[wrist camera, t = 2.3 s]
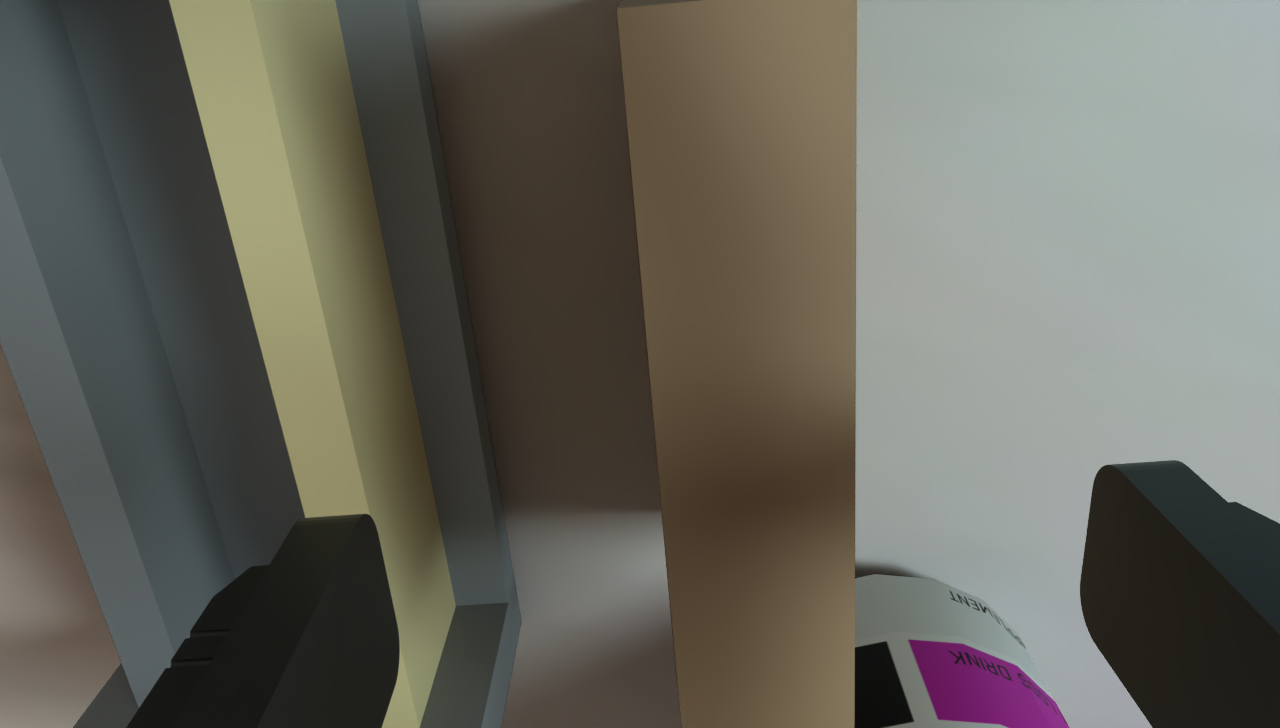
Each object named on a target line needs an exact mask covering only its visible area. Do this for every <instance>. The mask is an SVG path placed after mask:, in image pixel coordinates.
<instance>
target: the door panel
mask: <svg viewBox="0 0 1280 728" xmlns="http://www.w3.org/2000/svg"><path fill="white" fill-rule="evenodd" d="M617 17H618V28H619V39H620V50H621V61H622V73H623V84H624V95H625V106H626V117H627V136H628V147H629V158H630V169H631V180H632V191H633V202H634V213H635V224H636V235H637V246H638V258H639V269H640V280H641V291H642V302H643V313H644V324H645V335H646V346H647V357H648V368H649V379H650V390H651V401H652V412H653V423H654V434H655V445H656V456H657V467H658V478H659V489H660V500H661V511H662V523H663V534H664V545H665V556H666V567H667V578H668V589H669V600H670V611H671V622H672V633H673V644H674V655H675V666H676V677H677V686H678V693H679V704H680V715H681V726H682V728H854V723H855V392H856V61H857V0H622V1H621V3H620V4H619V6H618V7H617Z"/></svg>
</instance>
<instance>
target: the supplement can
mask: <svg viewBox="0 0 1280 728" xmlns="http://www.w3.org/2000/svg"><path fill="white" fill-rule="evenodd" d="M854 728H1069V726H1068V724H1067V722H1066V721H1065V719H1064V717H1063V715H1062V713H1061V712H1060V710H1059V708H1058V706H1057V704H1056V702H1055V701H1054V699H1053V697H1052V695H1051V693H1050V692H1049V690H1048V688H1047V686H1046V684H1045V682H1044V681H1043V679H1042V677H1041V675H1040V673H1039V672H1038V670H1037V668H1036V666H1035V664H1034V663H1033V661H1032V659H1031V657H1030V655H1029V653H1028V652H1027V650H1026V648H1025V646H1024V644H1023V643H1022V641H1021V639H1020V637H1019V635H1018V633H1017V632H1016V631H1015V630H1014V629H1013V628H1011V627H1010V626H1009V625H1008V624H1007V623H1006V622H1005V621H1004V620H1003V619H1002V618H1001V617H1000V616H999V615H998V614H997V613H996V612H995V611H994V610H993V609H992V608H991V607H990V606H989V605H988V604H987V603H986V602H985V601H984V600H982V599H980V598H978V597H975V596H973V595H970V594H968V593H966V592H963V591H961V590H958V589H956V588H954V587H951V586H949V585H946V584H944V583H942V582H939V581H937V580H934V579H928V578H916V577H903V576H891V575H878V574H873V575H869V576H864V577H859V578H855V723H854Z"/></svg>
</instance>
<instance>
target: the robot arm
mask: <svg viewBox="0 0 1280 728" xmlns="http://www.w3.org/2000/svg"><path fill="white" fill-rule="evenodd" d="M1080 597H1081V606H1082V611H1083V616H1084V619H1085V623H1086V626H1087V628H1088V631H1089V633H1090V635H1091V637H1092V639H1093V641H1094V643H1095V644H1096V646H1097V647H1098V649H1099V650H1100V652H1101V653H1102V654H1103V656H1104V657H1105V659H1106V660H1107V662H1108V663H1109V665H1110V666H1111V667H1112V669H1113V670H1114V672H1115V673H1116V675H1117V676H1118V678H1119V679H1120V681H1121V682H1122V683H1123V685H1124V686H1125V688H1126V689H1127V691H1128V692H1129V694H1130V695H1131V697H1132V698H1133V699H1134V701H1135V702H1136V704H1137V705H1138V707H1139V708H1140V710H1141V711H1142V713H1143V714H1144V715H1145V717H1146V718H1147V720H1148V721H1149V723H1150V724H1151V726H1152V727H1153V728H1280V524H1279V523H1277V522H1275V521H1273V520H1271V519H1269V518H1267V517H1265V516H1263V515H1261V514H1259V513H1257V512H1255V511H1253V510H1251V509H1249V508H1247V507H1245V506H1243V505H1241V504H1239V503H1237V502H1230V503H1228V502H1227V501H1226V500H1225V499H1223V498H1222V497H1221V496H1220V495H1219V494H1218V493H1217V492H1216V491H1215V490H1213V489H1212V488H1211V487H1210V486H1209V485H1208V484H1207V483H1206V482H1204V481H1203V480H1202V479H1201V478H1200V477H1199V476H1198V475H1197V474H1195V473H1194V472H1193V471H1192V470H1191V469H1190V468H1189V467H1188V466H1186V465H1185V464H1184V463H1182V462H1179V461H1174V460H1172V461H1157V462H1143V463H1128V464H1113V465H1105V466H1103V467H1102V468H1101V469H1100V470H1099V471H1098V473H1097V475H1096V477H1095V480H1094V484H1093V490H1092V497H1091V505H1090V513H1089V520H1088V528H1087V536H1086V543H1085V551H1084V559H1083V566H1082V574H1081V582H1080ZM399 656H400V643H399V631H398V625H397V620H396V615H395V611H394V606H393V601H392V596H391V592H390V587H389V582H388V577H387V573H386V568H385V563H384V559H383V554H382V549H381V544H380V540H379V535H378V531H377V528H376V525H375V522H374V520H373V519H372V517H371V516H370V515H369V514H354V515H339V516H324V517H310V518H301V519H299V520H297V521H296V522H295V524H294V525H293V527H292V528H291V530H290V532H289V533H288V535H287V537H286V538H285V540H284V542H283V543H282V545H281V547H280V548H279V550H278V552H277V553H276V555H275V557H274V558H273V560H272V562H271V563H270V565H264V566H251V567H250V568H248V569H247V570H246V571H245V572H243V573H242V574H241V575H240V576H238V577H237V578H236V579H235V580H233V581H232V582H231V583H230V584H228V585H227V586H226V587H225V588H223V589H222V590H221V591H220V592H218V593H217V594H216V595H215V596H213V597H212V599H211V600H210V602H209V603H208V605H207V606H206V608H205V609H204V611H203V612H202V614H201V616H200V617H199V619H198V620H197V622H196V623H195V625H194V626H193V628H192V629H191V631H190V638H185V640H184V641H183V643H182V644H181V646H180V647H179V649H178V650H177V652H176V653H175V655H174V656H173V658H172V659H171V667H170V668H165V670H164V671H163V673H162V674H161V676H160V677H159V679H158V680H157V682H156V683H155V685H154V686H153V688H152V689H151V691H150V692H149V694H148V695H147V697H146V698H145V700H144V702H143V703H142V705H141V706H140V708H139V709H138V711H137V712H136V714H135V715H134V717H133V718H132V720H131V721H130V723H129V724H128V726H127V727H126V728H382V725H383V722H384V719H385V716H386V713H387V710H388V707H389V704H390V700H391V697H392V694H393V691H394V688H395V685H396V681H397V676H398V669H399Z"/></svg>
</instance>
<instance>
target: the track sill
mask: <svg viewBox="0 0 1280 728" xmlns="http://www.w3.org/2000/svg"><path fill="white" fill-rule="evenodd" d="M0 344H1V347H2V349H3V352H4V355H5V357H6V360H7V363H8V365H9V368H10V370H11V373H12V376H13V378H14V381H15V384H16V386H17V389H18V392H19V394H20V397H21V399H22V402H23V405H24V407H25V410H26V413H27V415H28V418H29V421H30V423H31V426H32V428H33V431H34V434H35V436H36V439H37V442H38V444H39V447H40V450H41V452H42V455H43V457H44V460H45V463H46V465H47V468H48V471H49V473H50V476H51V478H52V481H53V484H54V486H55V489H56V492H57V494H58V497H59V500H60V502H61V505H62V507H63V510H64V513H65V515H66V518H67V521H68V523H69V526H70V529H71V531H72V534H73V536H74V539H75V542H76V544H77V547H78V550H79V552H80V555H81V558H82V560H83V563H84V565H85V568H86V571H87V573H88V576H89V579H90V581H91V584H92V587H93V589H94V592H95V594H96V597H97V600H98V602H99V605H100V608H101V610H102V613H103V615H104V618H105V621H106V623H107V626H108V629H109V631H110V634H111V637H112V639H113V642H114V644H115V647H116V650H117V652H118V655H119V658H120V660H121V664H120V666H119V667H118V668H117V670H116V671H115V672H114V674H113V675H112V676H111V678H110V679H109V680H108V682H107V683H106V684H105V686H104V687H103V688H102V690H101V691H100V692H99V694H98V695H97V696H96V698H95V699H94V700H93V702H92V703H91V704H90V706H89V707H88V708H87V710H86V711H85V712H84V714H83V715H82V716H81V718H80V719H79V720H78V722H77V723H76V724H75V726H74V727H73V728H126V727H127V726H128V724H129V723H130V721H131V720H132V718H133V717H134V715H135V714H136V712H137V711H138V709H139V708H140V706H141V705H142V703H143V702H144V700H145V698H146V697H147V695H148V694H149V692H150V691H151V689H152V688H153V686H154V685H155V683H156V682H157V680H158V679H159V677H160V676H161V674H162V673H163V671H164V670H165V668H170V667H171V659H172V658H173V656H174V655H175V653H176V652H177V650H178V649H179V647H180V646H181V644H182V643H183V641H184V640H185V638H190V631H191V629H192V628H193V626H194V625H195V623H196V622H197V620H198V619H199V617H200V616H201V614H202V612H203V611H204V609H205V608H206V606H207V605H208V603H209V602H210V600H211V599H212V597H213V596H215V595H216V594H217V593H218V592H220V591H221V590H222V589H223V588H225V587H226V586H227V585H228V584H230V583H231V582H232V581H233V580H235V579H236V578H237V577H238V576H240V575H241V574H242V573H243V572H245V571H246V570H247V569H248V568H250V567H251V566H264V565H270V563H271V562H272V560H273V558H274V557H275V555H276V553H277V552H278V550H279V548H280V547H281V545H282V543H283V542H284V540H285V538H286V537H287V535H288V533H289V532H290V530H291V528H292V527H293V525H294V524H295V522H296V521H297V520H299V519H301V518H310V517H324V516H339V515H354V514H369V515H370V516H371V517H372V519H373V520H374V522H375V525H376V528H377V531H378V535H379V540H380V544H381V549H382V554H383V559H384V563H385V568H386V573H387V577H388V582H389V587H390V592H391V596H392V601H393V606H394V611H395V615H396V620H397V625H398V631H399V643H400V656H399V669H398V676H397V681H396V685H395V688H394V691H393V694H392V697H391V700H390V704H389V707H388V710H387V713H386V716H385V719H384V722H383V725H382V728H501V726H502V721H503V716H504V711H505V705H506V700H507V695H508V690H509V684H510V679H511V674H512V669H513V664H514V658H515V653H516V648H517V643H518V638H519V632H520V627H521V617H520V611H519V605H518V599H517V593H516V587H515V581H514V575H513V570H512V564H511V558H510V552H509V546H508V540H507V534H506V528H505V522H504V516H503V510H502V504H501V498H500V492H499V486H498V480H497V474H496V468H495V462H494V456H493V450H492V444H491V438H490V432H489V426H488V420H487V414H486V408H485V402H484V396H483V390H482V384H481V378H480V372H479V366H478V360H477V354H476V348H475V342H474V336H473V331H472V325H471V319H470V313H469V307H468V301H467V295H466V289H465V283H464V277H463V271H462V265H461V259H460V253H459V247H458V241H457V235H456V229H455V223H454V217H453V211H452V205H451V199H450V193H449V187H448V181H447V175H446V169H445V163H444V157H443V151H442V145H441V139H440V133H439V127H438V121H437V115H436V109H435V103H434V97H433V91H432V86H431V80H430V74H429V68H428V62H427V56H426V50H425V44H424V38H423V32H422V26H421V20H420V14H419V8H418V2H417V0H0Z"/></svg>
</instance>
